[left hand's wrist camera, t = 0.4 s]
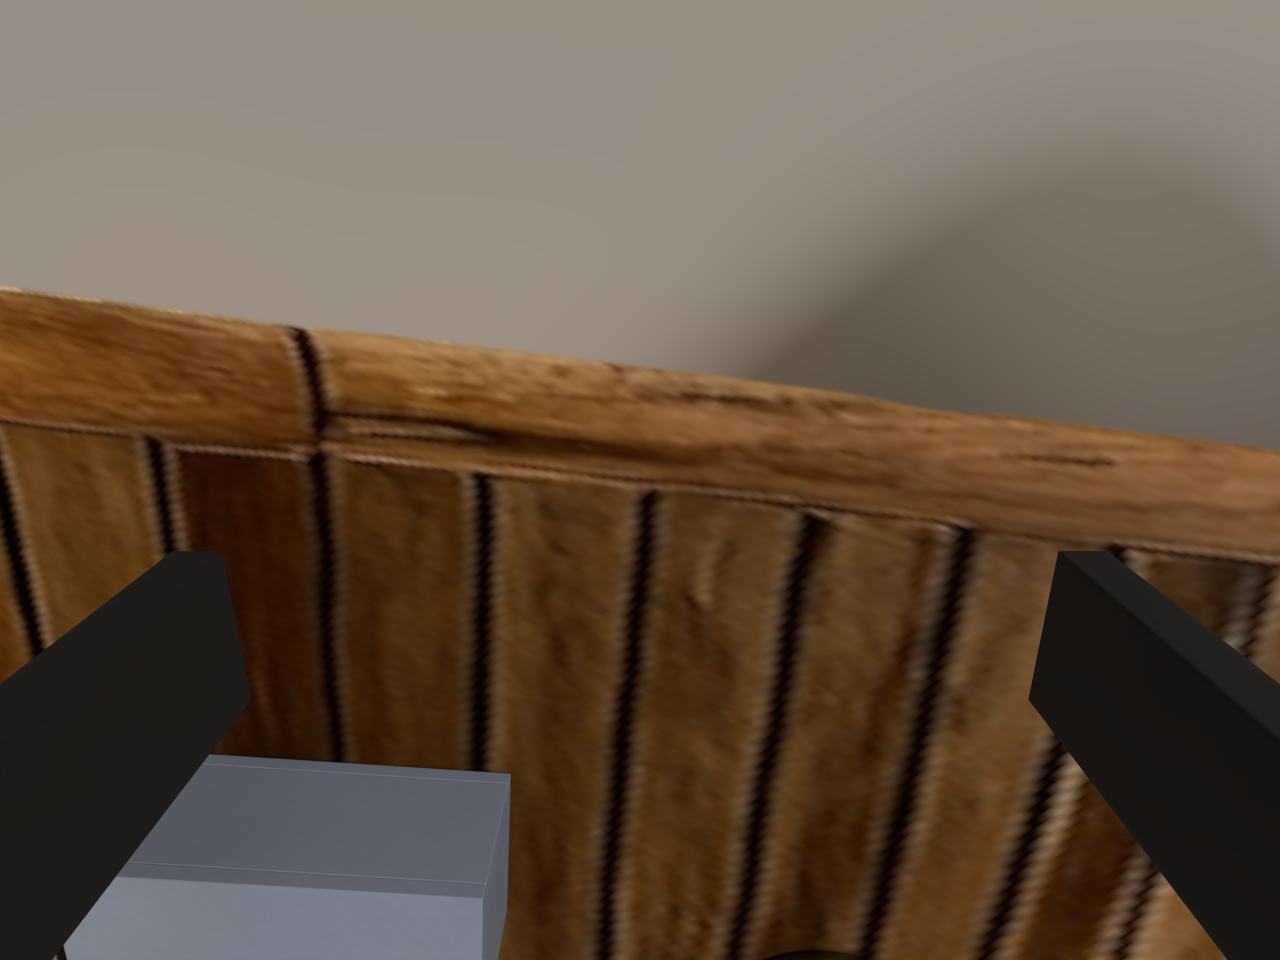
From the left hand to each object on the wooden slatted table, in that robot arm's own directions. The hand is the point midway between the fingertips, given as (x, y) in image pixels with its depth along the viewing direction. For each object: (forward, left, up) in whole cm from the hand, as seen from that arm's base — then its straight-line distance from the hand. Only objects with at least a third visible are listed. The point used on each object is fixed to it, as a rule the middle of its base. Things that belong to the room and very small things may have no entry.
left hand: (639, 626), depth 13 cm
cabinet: (-32, +18, -28) cm, 46 cm away
